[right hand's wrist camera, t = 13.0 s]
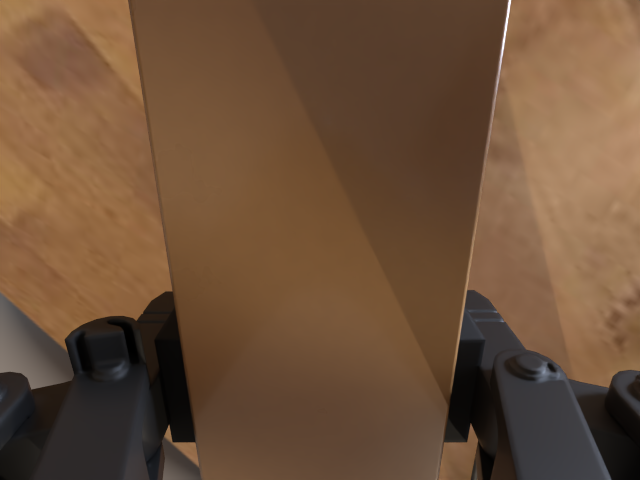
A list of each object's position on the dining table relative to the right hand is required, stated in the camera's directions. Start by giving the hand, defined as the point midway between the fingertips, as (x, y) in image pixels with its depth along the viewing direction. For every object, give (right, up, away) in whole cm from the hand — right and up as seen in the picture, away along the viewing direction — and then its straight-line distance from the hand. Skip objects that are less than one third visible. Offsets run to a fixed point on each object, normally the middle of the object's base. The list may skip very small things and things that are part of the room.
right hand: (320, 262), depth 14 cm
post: (0, +27, -10) cm, 29 cm away
